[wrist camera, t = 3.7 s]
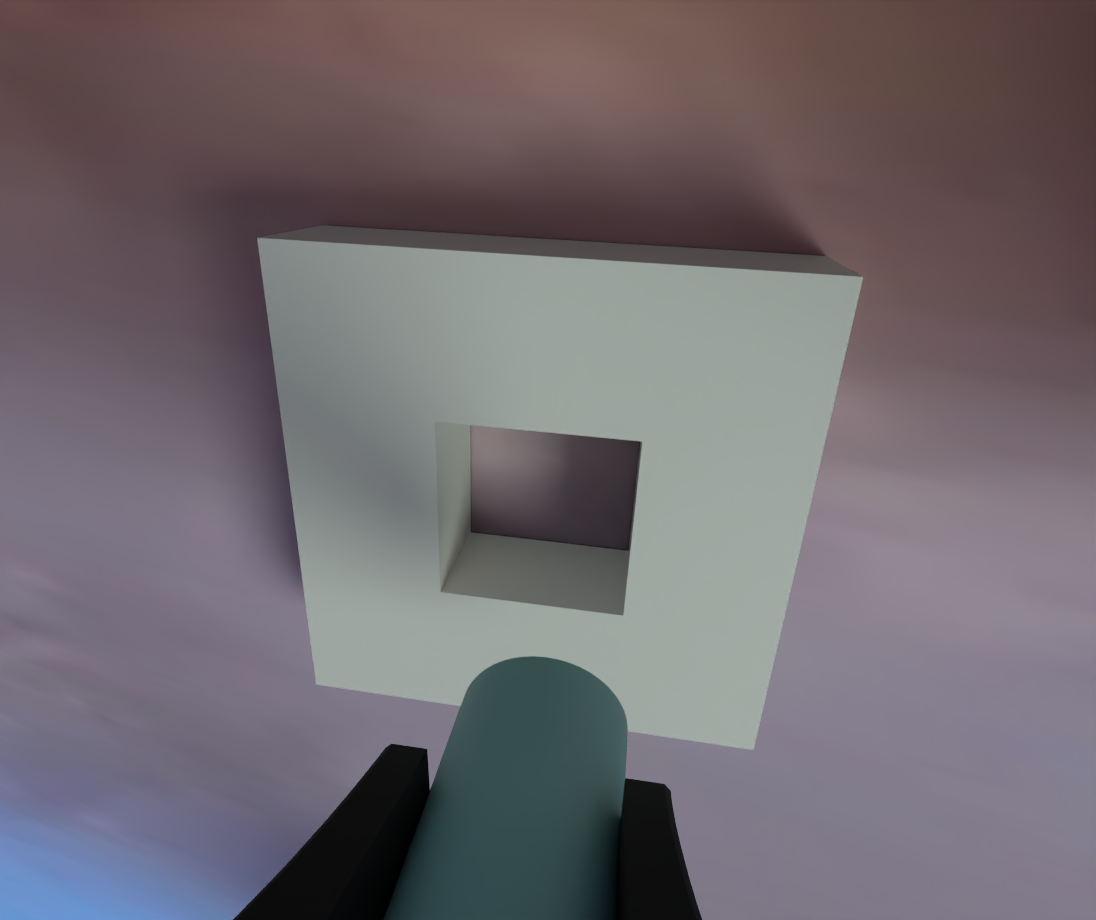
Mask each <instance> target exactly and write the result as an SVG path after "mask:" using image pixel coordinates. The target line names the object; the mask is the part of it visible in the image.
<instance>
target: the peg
mask: <svg viewBox="0 0 1096 920" xmlns="http://www.w3.org/2000/svg"><path fill="white" fill-rule="evenodd" d="M627 732H628V726H627V719H626V715H625V712H624V709H623V707H622V705H621V703H620V701H619V700H618V698H617V697H616V695H615V694H614V693H613V692H612V691H611V689H610V688H609V687H608V686H607V685H606V684H605V683H603V682H602V681H601V680H600V679H599V678H597V677H596V676H594V675H593V674H591V673H590V672H588V671H586V670H584V669H583V668H581V667H579V666H576V665H574V664H571V663H569V662H565V661H562V660H558V659H553V658H548V657H538V656H527V657H517V658H512V659H508V660H504V661H501V662H498V663H496V664H494V665H492V666H490V667H488V668H486V669H485V670H484V671H482V672H481V673H480V674H479V675H478V676H477V677H476V678H475V679H474V680H473V681H472V682H471V684H470V685H469V687H468V689H467V691H466V693H465V696H464V698H463V701H462V704H461V707H460V709H459V712H458V715H457V718H456V721H455V723H454V726H453V729H452V732H451V734H450V737H449V740H448V743H447V745H446V748H445V751H444V754H443V756H442V759H441V762H440V765H439V767H438V770H437V773H436V776H435V778H434V781H433V784H432V787H431V789H430V792H429V795H428V798H427V801H426V803H425V806H424V809H423V812H422V814H421V817H420V820H419V823H418V825H417V828H416V831H415V834H414V836H413V839H412V842H411V845H410V847H409V850H408V853H407V856H406V858H405V861H404V864H403V867H402V869H401V872H400V875H399V878H398V881H397V883H396V886H395V889H394V892H393V894H392V897H391V900H390V903H389V905H388V908H387V911H386V914H385V916H384V919H383V920H617V874H618V857H619V840H620V823H621V811H622V802H623V793H624V783H625V769H626V751H627Z"/></svg>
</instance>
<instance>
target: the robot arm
mask: <svg viewBox="0 0 1096 920" xmlns="http://www.w3.org/2000/svg"><path fill="white" fill-rule="evenodd" d="M429 792H430V788H429V772H428V757H427V749H423V748H416V747H409V746H403V745H396V744H391V745H389V746H388V747H386V748H385V749H384V751H383V752H382V753H381V754H380V756H379V757H378V758H377V760H376V761H375V762H374V763H373V765H372V766H371V767H370V768H369V770H368V771H367V772H366V773H365V775H364V776H363V777H362V778H361V780H360V781H359V782H358V783H357V784H356V786H355V787H354V788H353V789H352V791H351V792H350V793H349V794H348V795H347V797H346V798H345V799H344V800H343V801H342V802H341V804H340V805H339V806H338V807H337V808H336V810H335V811H334V812H333V813H332V814H331V815H330V817H329V818H328V819H327V820H326V821H325V822H324V823H323V825H322V826H321V827H320V828H319V829H318V830H317V831H316V832H315V834H314V835H313V836H312V837H311V838H310V839H309V840H308V841H307V842H306V844H305V845H304V846H303V847H302V848H301V849H300V850H299V851H298V853H297V854H296V855H295V856H294V857H293V858H292V859H291V860H290V861H289V863H288V864H287V865H286V866H285V867H284V868H283V869H282V870H281V871H280V872H279V873H278V874H277V875H276V876H275V877H274V878H273V879H272V880H271V881H270V882H269V883H268V884H267V886H266V887H265V888H264V889H263V890H262V891H261V892H260V893H259V894H258V895H257V896H256V897H255V898H254V899H253V900H252V901H251V902H250V903H249V904H248V905H247V906H246V907H245V908H244V909H243V910H242V911H241V912H240V913H239V914H238V915H237V916H236V917H235V918H234V919H233V920H383V919H384V916H385V914H386V911H387V908H388V905H389V903H390V900H391V897H392V894H393V892H394V889H395V886H396V883H397V881H398V878H399V875H400V872H401V869H402V867H403V864H404V861H405V858H406V856H407V853H408V850H409V847H410V845H411V842H412V839H413V836H414V834H415V831H416V828H417V825H418V823H419V820H420V817H421V814H422V812H423V809H424V806H425V803H426V801H427V798H428V795H429ZM617 920H702V918H701V915H700V912H699V909H698V906H697V903H696V899H695V896H694V893H693V889H692V886H691V883H690V879H689V876H688V872H687V868H686V864H685V861H684V857H683V853H682V849H681V845H680V841H679V837H678V832H677V828H676V823H675V818H674V812H673V806H672V800H671V791H670V790H669V789H668V788H667V787H666V785H665V784H660V783H653V782H647V781H640V780H633V779H626V778H625V783H624V793H623V802H622V811H621V823H620V840H619V857H618V874H617Z"/></svg>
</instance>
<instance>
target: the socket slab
mask: <svg viewBox="0 0 1096 920" xmlns="http://www.w3.org/2000/svg"><path fill="white" fill-rule="evenodd" d="M257 241H258V248H259V256H260V263H261V271H262V278H263V286H264V294H265V301H266V309H267V316H268V324H269V331H270V339H271V346H272V354H273V361H274V369H275V377H276V384H277V392H278V399H279V407H280V414H281V422H282V429H283V437H284V444H285V452H286V460H287V467H288V475H289V482H290V490H291V497H292V505H293V512H294V520H295V527H296V535H297V542H298V550H299V558H300V565H301V573H302V580H303V588H304V595H305V603H306V610H307V618H308V625H309V633H310V641H311V648H312V656H313V663H314V671H315V678H316V684H317V685H323V686H330V687H337V688H343V689H350V690H357V691H363V692H370V693H377V694H383V695H390V696H397V697H403V698H410V699H417V700H423V701H430V702H437V703H443V704H450V705H457V706H461V704H462V701H463V698H464V696H465V693H466V691H467V689H468V687H469V685H470V684H471V682H472V681H473V680H474V679H475V678H476V677H477V676H478V675H479V674H480V673H481V672H482V671H484V670H485V669H486V668H488V667H490V666H492V665H494V664H496V663H498V662H501V661H504V660H508V659H512V658H517V657H527V656H538V657H548V658H553V659H558V660H562V661H565V662H569V663H571V664H574V665H576V666H579V667H581V668H583V669H584V670H586V671H588V672H590V673H591V674H593V675H594V676H596V677H597V678H599V679H600V680H601V681H602V682H603V683H605V684H606V685H607V686H608V687H609V688H610V689H611V691H612V692H613V693H614V694H615V695H616V697H617V698H618V700H619V701H620V703H621V705H622V707H623V709H624V712H625V715H626V719H627V726H628V731H630V732H637V733H643V734H650V735H657V736H663V737H670V738H677V739H683V740H690V741H697V742H703V743H710V744H717V745H723V746H730V747H737V748H743V749H750V750H754V745H755V741H756V737H757V732H758V728H759V724H760V719H761V715H762V711H763V707H764V702H765V698H766V694H767V689H768V685H769V681H770V676H771V672H772V668H773V663H774V659H775V655H776V651H777V646H778V642H779V638H780V633H781V629H782V625H783V620H784V616H785V612H786V608H787V603H788V599H789V595H790V590H791V586H792V582H793V577H794V573H795V569H796V564H797V560H798V556H799V552H800V547H801V543H802V539H803V534H804V530H805V526H806V521H807V517H808V513H809V508H810V504H811V500H812V496H813V491H814V487H815V483H816V478H817V474H818V470H819V465H820V461H821V457H822V453H823V448H824V444H825V440H826V435H827V431H828V427H829V422H830V418H831V414H832V409H833V405H834V401H835V397H836V392H837V388H838V384H839V379H840V375H841V371H842V366H843V362H844V358H845V354H846V349H847V345H848V341H849V336H850V332H851V328H852V323H853V319H854V315H855V310H856V306H857V302H858V298H859V293H860V289H861V285H862V280H863V276H861V275H859V274H857V273H856V272H854V271H852V270H850V269H849V268H847V267H845V266H843V265H841V264H840V263H838V262H836V261H834V260H833V259H831V258H829V257H827V256H816V255H800V254H783V253H767V252H751V251H734V250H718V249H702V248H685V247H669V246H653V245H636V244H620V243H604V242H587V241H571V240H555V239H538V238H522V237H506V236H489V235H473V234H457V233H440V232H424V231H408V230H391V229H375V228H359V227H342V226H326V225H322V226H317V227H312V228H307V229H301V230H296V231H291V232H285V233H280V234H275V235H269V236H264V237H259V238H257ZM470 425H476V426H487V427H497V428H507V429H518V430H528V431H538V432H548V433H559V434H569V435H579V436H590V437H600V438H610V439H621V440H631V441H640V450H639V459H638V468H637V478H636V487H635V496H634V505H633V515H632V524H631V533H630V542H629V551H626V550H618V549H609V548H601V547H592V546H584V545H575V544H566V543H558V542H549V541H541V540H532V539H524V538H515V537H507V536H498V535H490V534H481V533H473V532H471V479H470Z"/></svg>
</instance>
